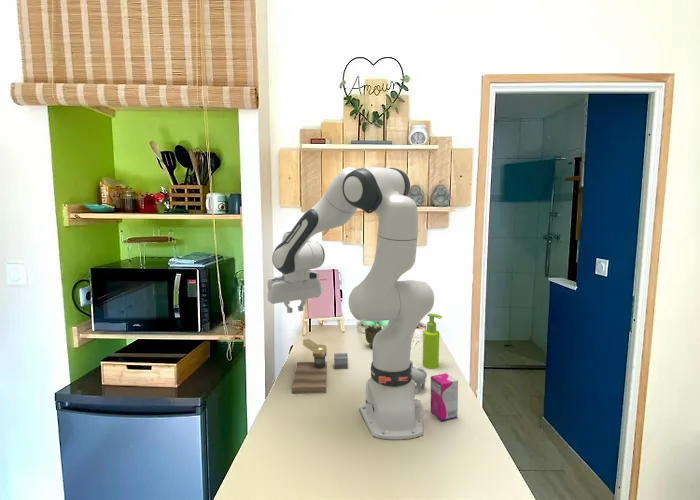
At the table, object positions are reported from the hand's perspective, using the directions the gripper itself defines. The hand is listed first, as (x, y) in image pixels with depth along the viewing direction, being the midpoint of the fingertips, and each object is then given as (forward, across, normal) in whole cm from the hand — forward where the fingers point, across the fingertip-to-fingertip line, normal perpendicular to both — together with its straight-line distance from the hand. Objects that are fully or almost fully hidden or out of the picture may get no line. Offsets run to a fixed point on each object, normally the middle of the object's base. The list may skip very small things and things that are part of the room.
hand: (295, 311), depth 148 cm
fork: (+22, +52, -7) cm, 57 cm away
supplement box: (+21, +22, -54) cm, 62 cm away
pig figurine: (+21, +25, -35) cm, 48 cm away
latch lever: (+15, +5, -5) cm, 16 cm away
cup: (+21, +36, 0) cm, 42 cm away
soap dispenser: (+21, +43, -27) cm, 55 cm away
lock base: (+21, +4, -13) cm, 25 cm away
